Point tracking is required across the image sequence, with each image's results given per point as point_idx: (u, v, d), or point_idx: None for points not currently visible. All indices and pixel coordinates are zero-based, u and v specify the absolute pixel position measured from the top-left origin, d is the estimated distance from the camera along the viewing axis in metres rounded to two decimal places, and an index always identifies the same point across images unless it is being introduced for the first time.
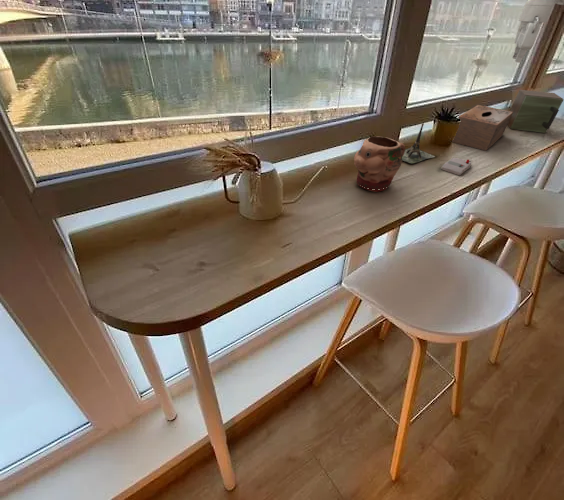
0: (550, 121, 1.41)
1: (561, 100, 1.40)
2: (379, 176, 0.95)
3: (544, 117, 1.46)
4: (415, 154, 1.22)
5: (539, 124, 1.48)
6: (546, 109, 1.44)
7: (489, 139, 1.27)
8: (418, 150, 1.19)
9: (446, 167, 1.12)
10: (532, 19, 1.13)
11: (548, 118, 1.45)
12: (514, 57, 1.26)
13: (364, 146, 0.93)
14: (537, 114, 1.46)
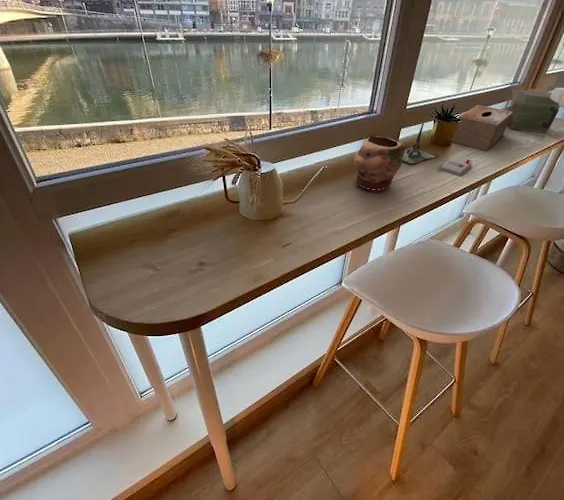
0: (550, 121, 1.41)
1: None
2: (379, 176, 0.95)
3: (544, 117, 1.46)
4: (415, 154, 1.22)
5: (539, 124, 1.48)
6: (546, 109, 1.44)
7: (489, 139, 1.27)
8: (418, 150, 1.19)
9: (446, 167, 1.12)
10: None
11: (548, 118, 1.45)
12: None
13: (364, 146, 0.93)
14: (537, 114, 1.46)
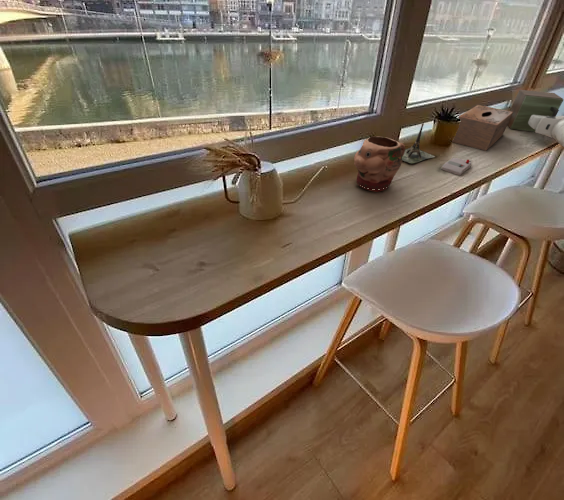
0: None
1: (561, 100, 1.40)
2: (379, 176, 0.95)
3: None
4: (415, 154, 1.22)
5: None
6: (546, 109, 1.44)
7: (489, 139, 1.27)
8: (418, 150, 1.19)
9: (446, 167, 1.12)
10: None
11: None
12: None
13: (364, 146, 0.93)
14: (537, 114, 1.46)
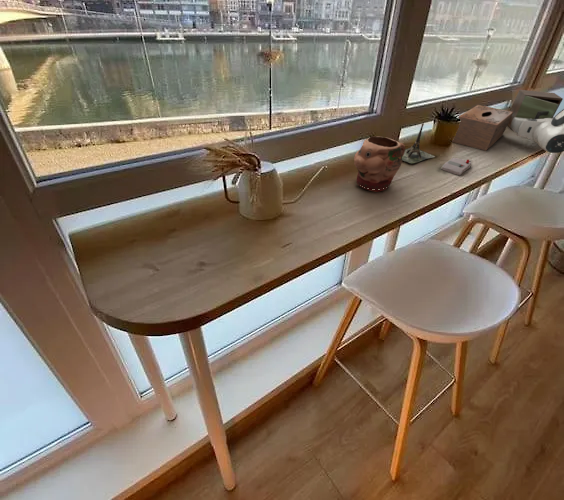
0: None
1: (555, 105, 1.33)
2: (379, 176, 0.95)
3: None
4: (415, 154, 1.22)
5: None
6: None
7: (489, 139, 1.27)
8: (418, 150, 1.19)
9: (446, 167, 1.12)
10: None
11: None
12: None
13: (364, 146, 0.93)
14: (533, 117, 1.42)
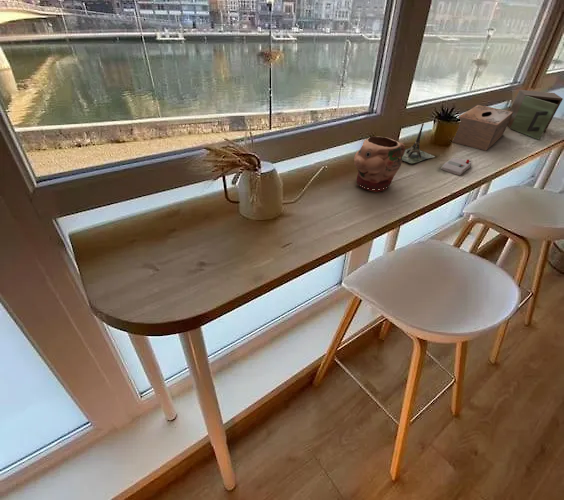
0: (530, 123, 1.38)
1: (554, 105, 1.33)
2: (379, 176, 0.95)
3: (538, 121, 1.40)
4: (415, 154, 1.22)
5: None
6: None
7: (489, 139, 1.27)
8: (418, 150, 1.19)
9: (446, 167, 1.12)
10: None
11: (541, 123, 1.39)
12: None
13: (364, 146, 0.93)
14: (532, 117, 1.42)
